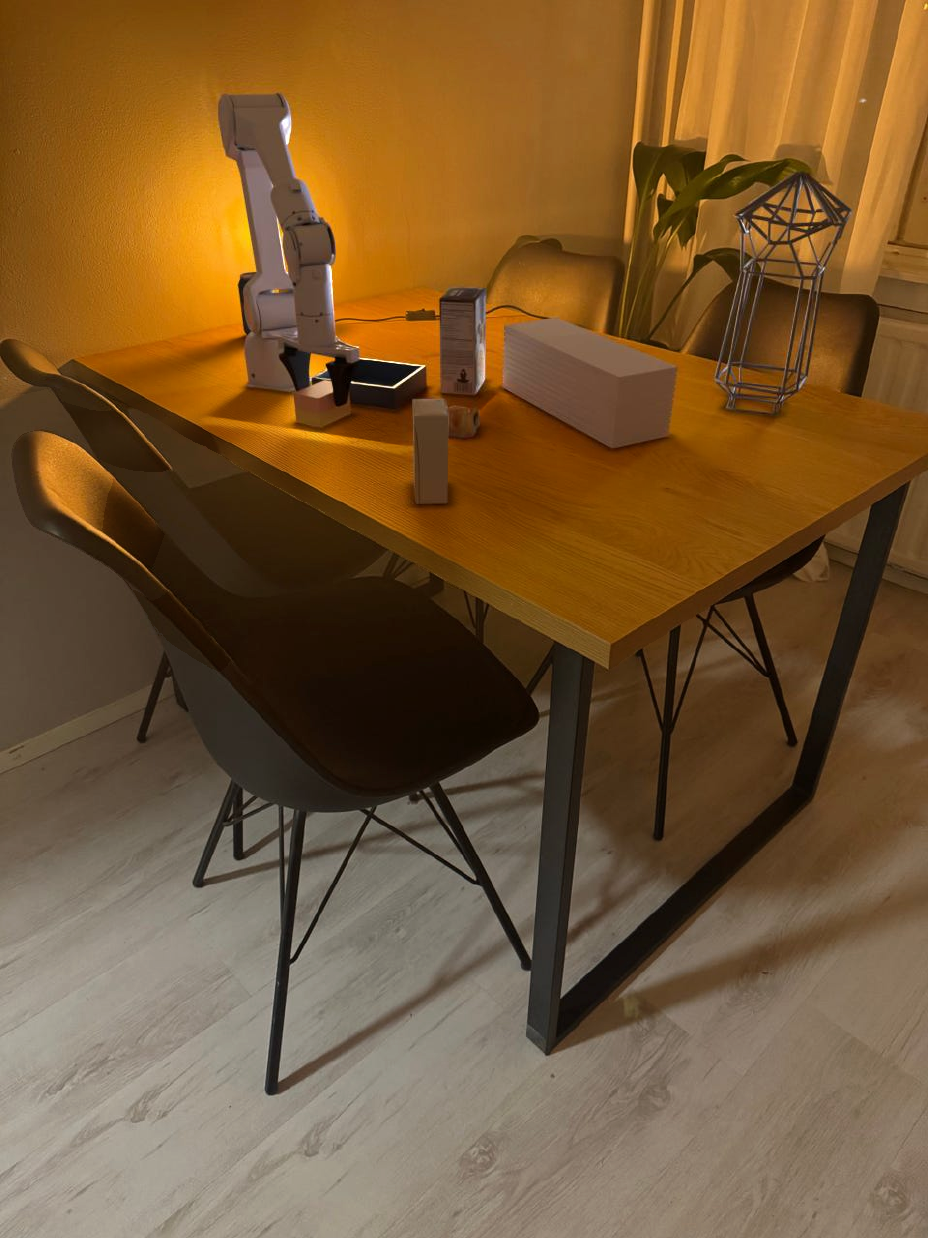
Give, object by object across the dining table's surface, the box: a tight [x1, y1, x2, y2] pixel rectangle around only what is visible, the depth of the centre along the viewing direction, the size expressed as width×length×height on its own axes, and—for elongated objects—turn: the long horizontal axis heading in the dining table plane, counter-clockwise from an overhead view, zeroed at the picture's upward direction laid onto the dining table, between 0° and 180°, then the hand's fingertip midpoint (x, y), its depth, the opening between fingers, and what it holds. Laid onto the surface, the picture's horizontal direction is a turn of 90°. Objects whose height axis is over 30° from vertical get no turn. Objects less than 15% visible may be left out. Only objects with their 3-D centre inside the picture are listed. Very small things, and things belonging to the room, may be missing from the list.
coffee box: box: [438, 286, 487, 396], centre depth 149 cm, size 9×6×16 cm
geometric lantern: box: [713, 170, 853, 416], centre depth 136 cm, size 16×16×35 cm
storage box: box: [311, 357, 428, 411], centre depth 149 cm, size 15×13×4 cm
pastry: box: [447, 405, 482, 439], centre depth 135 cm, size 9×7×4 cm
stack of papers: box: [501, 317, 679, 449], centre depth 140 cm, size 32×11×11 cm, turn 28°
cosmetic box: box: [412, 397, 449, 505], centre depth 112 cm, size 6×4×12 cm
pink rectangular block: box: [292, 380, 352, 429], centre depth 138 cm, size 5×8×5 cm, turn 148°
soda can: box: [237, 271, 275, 336], centre depth 177 cm, size 7×7×12 cm
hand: (322, 400), depth 138 cm, fingers open, 7 cm apart
